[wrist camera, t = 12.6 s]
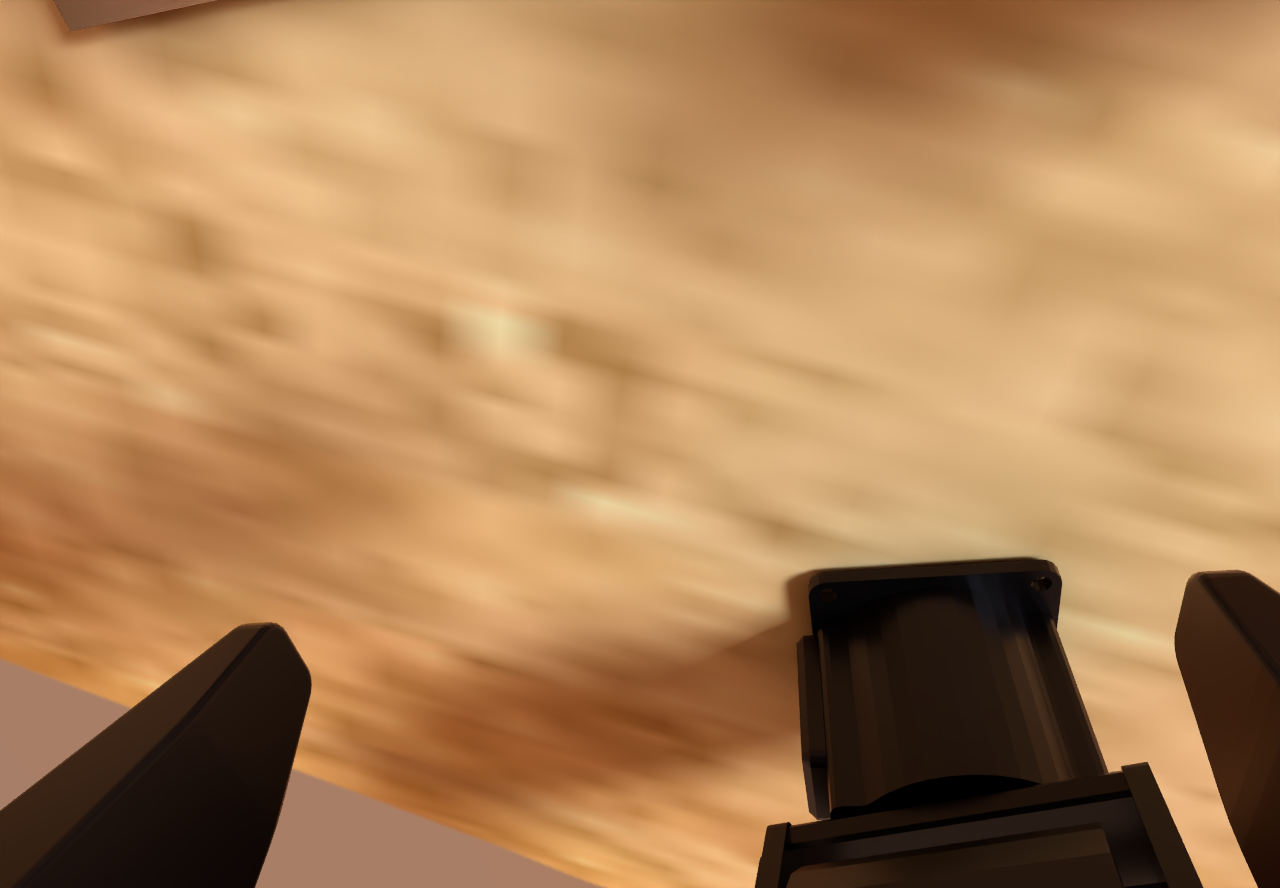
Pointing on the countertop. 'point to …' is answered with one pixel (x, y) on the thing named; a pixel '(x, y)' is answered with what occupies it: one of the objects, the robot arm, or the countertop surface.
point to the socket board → (113, 10)
